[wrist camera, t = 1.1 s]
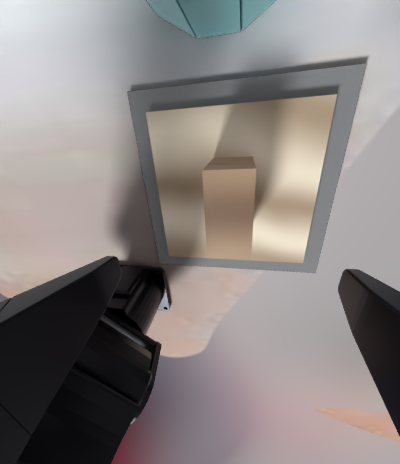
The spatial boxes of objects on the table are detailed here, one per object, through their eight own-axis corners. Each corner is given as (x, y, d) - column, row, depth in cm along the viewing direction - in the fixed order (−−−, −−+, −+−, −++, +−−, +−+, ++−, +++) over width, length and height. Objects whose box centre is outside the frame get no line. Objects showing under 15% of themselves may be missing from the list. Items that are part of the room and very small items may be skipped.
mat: (314, 270, 20) (315, 273, 20) (161, 261, 23) (159, 263, 23) (363, 65, 13) (366, 63, 12) (129, 92, 16) (127, 91, 15)
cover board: (301, 259, 19) (321, 304, 14) (170, 252, 22) (149, 289, 17) (333, 95, 13) (386, 77, 8) (149, 112, 16) (106, 106, 11)
